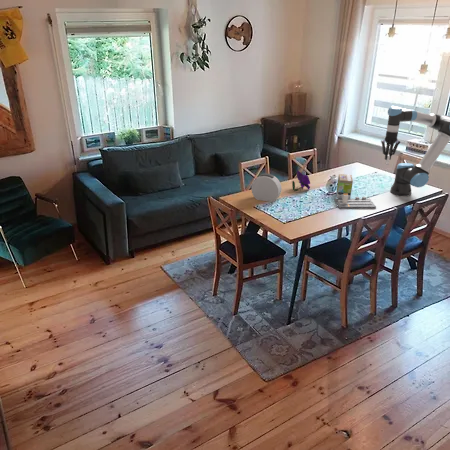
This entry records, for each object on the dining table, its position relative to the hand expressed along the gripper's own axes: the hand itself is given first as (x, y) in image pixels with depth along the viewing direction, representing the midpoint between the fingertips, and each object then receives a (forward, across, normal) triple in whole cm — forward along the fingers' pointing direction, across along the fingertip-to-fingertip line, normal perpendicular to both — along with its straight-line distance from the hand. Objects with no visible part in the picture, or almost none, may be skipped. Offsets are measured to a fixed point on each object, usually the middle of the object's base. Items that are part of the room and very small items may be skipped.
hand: (386, 164), depth 298 cm
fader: (+28, +28, +4) cm, 39 cm away
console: (+29, +20, +4) cm, 36 cm away
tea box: (+30, +24, -14) cm, 41 cm away
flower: (+30, +56, -26) cm, 68 cm away
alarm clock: (+30, +84, -7) cm, 89 cm away
